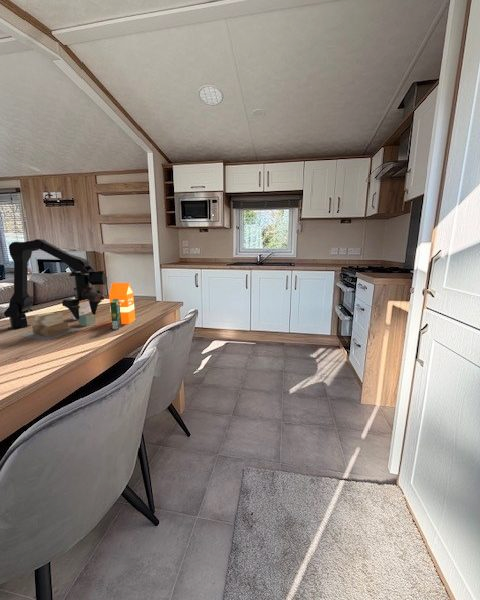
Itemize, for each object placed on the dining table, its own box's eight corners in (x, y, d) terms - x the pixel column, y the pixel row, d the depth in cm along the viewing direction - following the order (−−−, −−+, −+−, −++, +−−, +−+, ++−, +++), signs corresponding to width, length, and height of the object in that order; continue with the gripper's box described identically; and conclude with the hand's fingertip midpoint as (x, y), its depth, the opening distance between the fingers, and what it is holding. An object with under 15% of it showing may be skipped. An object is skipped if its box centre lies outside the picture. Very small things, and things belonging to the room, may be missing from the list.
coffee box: (118, 329, 123) (116, 301, 120) (112, 330, 122) (109, 302, 119) (122, 325, 130) (119, 298, 128) (115, 325, 130) (113, 298, 127)
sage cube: (78, 326, 129) (77, 316, 128) (87, 323, 133) (86, 313, 132) (87, 327, 127) (85, 316, 126) (95, 324, 132) (94, 314, 131)
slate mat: (19, 337, 112) (18, 336, 112) (55, 326, 127) (55, 325, 127) (47, 341, 108) (46, 340, 107) (81, 329, 123) (81, 328, 122)
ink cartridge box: (84, 316, 147) (81, 289, 144) (92, 316, 146) (89, 290, 143) (71, 320, 139) (68, 292, 136) (80, 320, 138) (76, 292, 135)
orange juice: (129, 324, 132) (125, 283, 128) (111, 324, 132) (107, 283, 128) (135, 320, 139) (132, 281, 136) (118, 319, 140) (115, 281, 136)
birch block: (36, 325, 114) (34, 316, 114) (51, 321, 121) (50, 312, 120) (48, 326, 112) (46, 317, 112) (63, 322, 119) (62, 313, 118)
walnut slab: (33, 334, 114) (32, 325, 114) (53, 328, 123) (52, 320, 122) (49, 336, 112) (47, 327, 111) (68, 330, 120) (67, 321, 119)
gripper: (78, 288, 115) (82, 323, 118) (111, 283, 133) (114, 314, 136) (59, 287, 119) (63, 321, 122) (93, 282, 136) (96, 312, 139)
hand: (86, 317), depth 129 cm, fingers open, 9 cm apart
